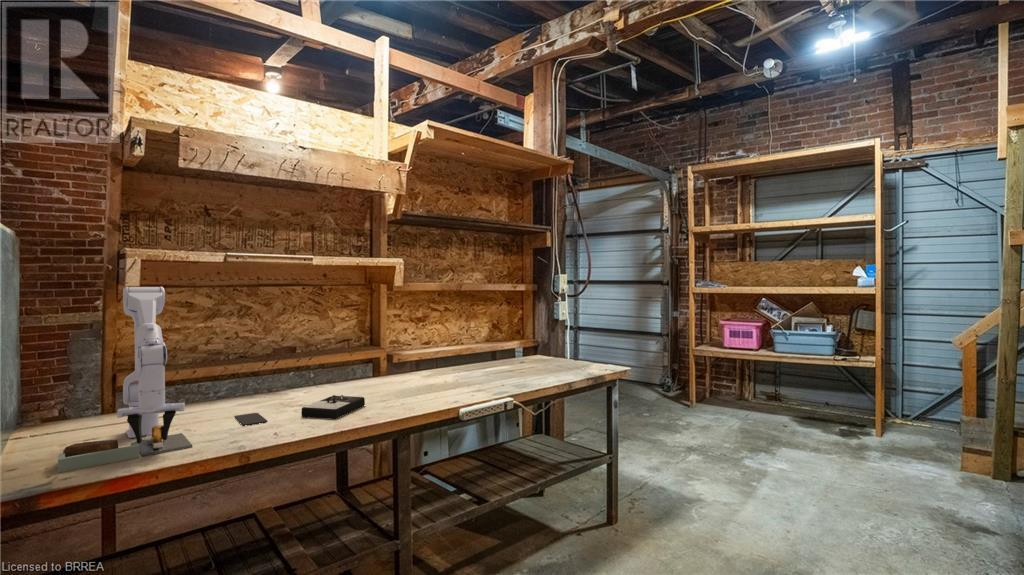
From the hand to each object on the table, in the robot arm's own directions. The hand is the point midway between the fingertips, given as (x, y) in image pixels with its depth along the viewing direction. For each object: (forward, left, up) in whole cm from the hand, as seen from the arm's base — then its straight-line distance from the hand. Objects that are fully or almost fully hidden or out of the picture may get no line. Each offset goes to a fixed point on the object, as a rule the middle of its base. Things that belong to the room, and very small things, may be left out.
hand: (152, 440), depth 134 cm
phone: (-17, +29, -3) cm, 33 cm away
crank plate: (-4, +3, -3) cm, 6 cm away
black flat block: (-9, +54, -4) cm, 54 cm away
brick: (-2, -13, -3) cm, 13 cm away
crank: (-4, +1, -2) cm, 4 cm away
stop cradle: (0, -11, -3) cm, 11 cm away
